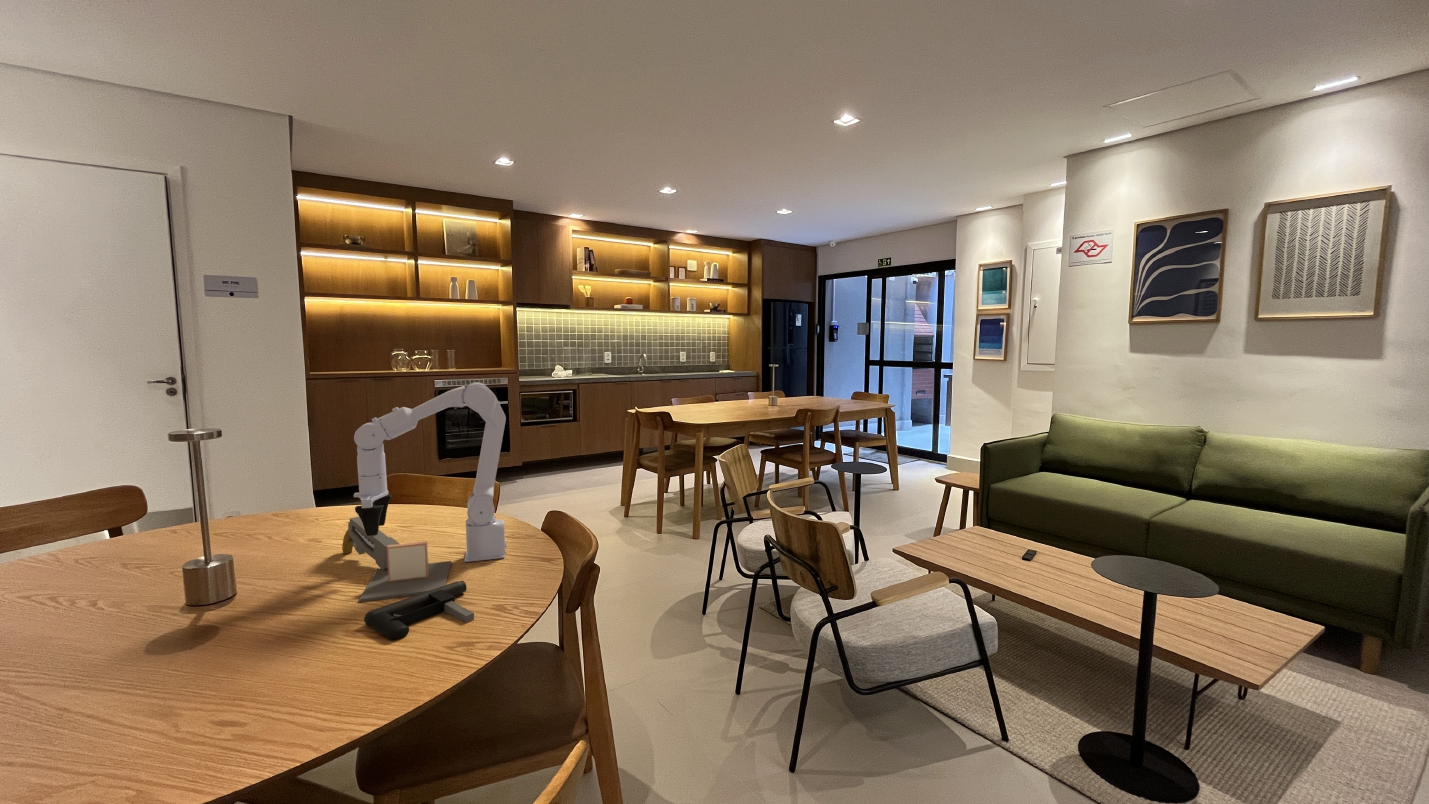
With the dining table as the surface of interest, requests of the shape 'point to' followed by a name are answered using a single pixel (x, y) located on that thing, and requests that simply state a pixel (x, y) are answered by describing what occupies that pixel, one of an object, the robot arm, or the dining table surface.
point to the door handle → (418, 610)
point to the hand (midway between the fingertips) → (375, 530)
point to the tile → (407, 561)
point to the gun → (367, 542)
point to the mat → (405, 583)
